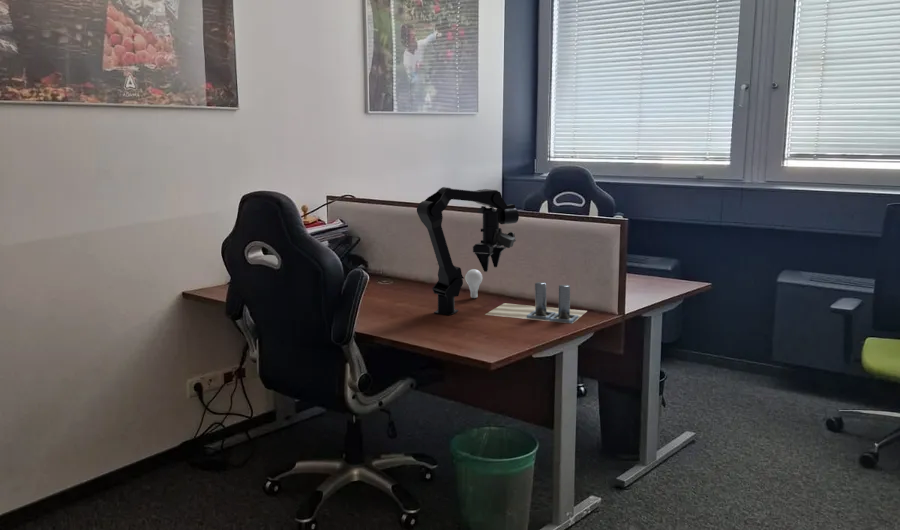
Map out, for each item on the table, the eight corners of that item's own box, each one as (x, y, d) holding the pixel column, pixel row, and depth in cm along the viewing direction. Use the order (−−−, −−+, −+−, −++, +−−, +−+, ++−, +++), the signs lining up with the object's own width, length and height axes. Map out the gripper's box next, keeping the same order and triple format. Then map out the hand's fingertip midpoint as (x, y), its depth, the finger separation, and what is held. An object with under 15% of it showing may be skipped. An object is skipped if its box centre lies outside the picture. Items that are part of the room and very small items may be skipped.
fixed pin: (567, 321, 239) (568, 287, 237) (556, 320, 241) (557, 286, 239) (571, 318, 242) (571, 285, 240) (560, 317, 244) (560, 284, 242)
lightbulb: (482, 300, 275) (482, 270, 273) (465, 300, 275) (465, 270, 274) (482, 296, 282) (482, 267, 280) (465, 296, 282) (465, 267, 280)
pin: (543, 318, 243) (542, 284, 241) (533, 316, 245) (533, 283, 243) (548, 315, 246) (548, 282, 244) (539, 314, 248) (538, 281, 246)
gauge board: (572, 327, 237) (572, 320, 236) (484, 318, 249) (484, 312, 249) (587, 314, 253) (587, 308, 252) (504, 306, 265) (504, 301, 265)
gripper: (502, 229, 250) (502, 275, 253) (521, 223, 267) (521, 266, 270) (472, 228, 255) (472, 273, 258) (492, 222, 272) (492, 264, 275)
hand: (490, 269), depth 265 cm, fingers open, 9 cm apart
